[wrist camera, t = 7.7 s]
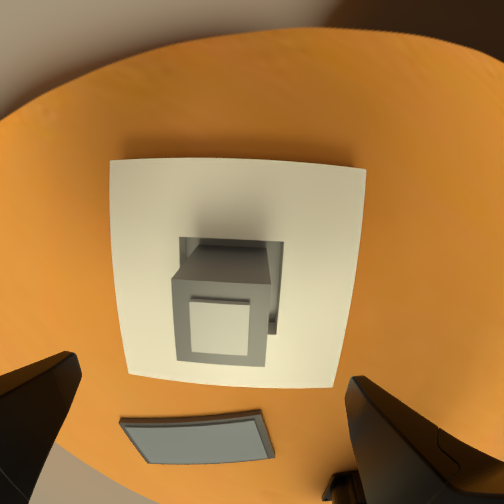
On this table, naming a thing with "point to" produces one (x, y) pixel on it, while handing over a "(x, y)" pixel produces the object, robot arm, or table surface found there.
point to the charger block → (222, 306)
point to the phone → (200, 438)
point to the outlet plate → (243, 235)
